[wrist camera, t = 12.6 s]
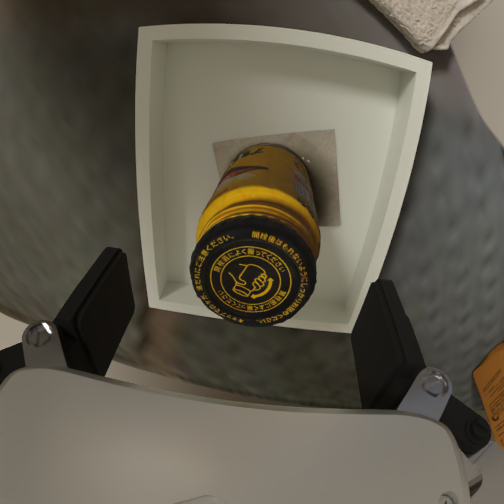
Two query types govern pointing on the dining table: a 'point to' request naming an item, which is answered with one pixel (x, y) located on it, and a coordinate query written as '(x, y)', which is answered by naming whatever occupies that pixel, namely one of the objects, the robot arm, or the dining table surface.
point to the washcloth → (430, 19)
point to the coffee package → (493, 390)
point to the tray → (267, 123)
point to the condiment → (265, 225)
